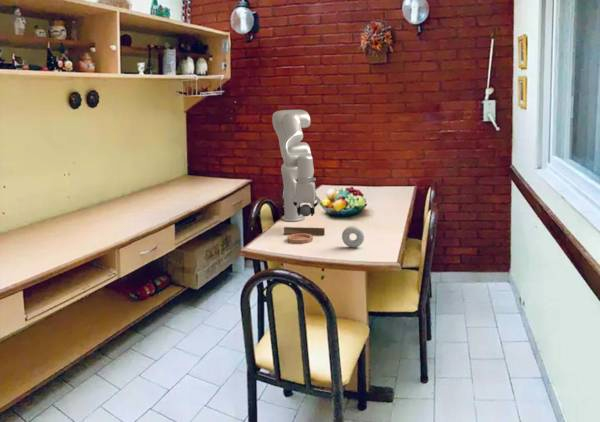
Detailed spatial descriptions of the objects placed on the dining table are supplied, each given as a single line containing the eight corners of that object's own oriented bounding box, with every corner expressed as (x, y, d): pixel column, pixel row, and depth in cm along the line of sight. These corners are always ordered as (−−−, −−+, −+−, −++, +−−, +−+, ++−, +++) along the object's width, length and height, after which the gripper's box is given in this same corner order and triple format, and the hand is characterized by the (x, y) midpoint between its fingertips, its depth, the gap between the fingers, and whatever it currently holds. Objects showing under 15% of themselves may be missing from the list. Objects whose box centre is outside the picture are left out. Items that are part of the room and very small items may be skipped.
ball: (301, 214, 282) (300, 202, 281) (312, 214, 281) (312, 203, 280) (298, 217, 277) (298, 205, 275) (310, 218, 276) (310, 206, 274)
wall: (284, 233, 275) (284, 227, 275) (324, 234, 272) (324, 227, 271) (284, 234, 274) (283, 227, 274) (324, 235, 270) (324, 228, 270)
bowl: (290, 236, 270) (290, 233, 270) (314, 237, 268) (314, 233, 267) (285, 243, 259) (285, 239, 259) (310, 244, 257) (309, 240, 256)
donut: (341, 248, 249) (341, 226, 247) (342, 246, 252) (342, 224, 250) (363, 249, 247) (363, 227, 245) (364, 246, 250) (364, 225, 248)
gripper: (323, 178, 276) (324, 213, 281) (289, 177, 279) (290, 212, 284) (321, 182, 269) (321, 217, 274) (286, 181, 272) (287, 216, 277)
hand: (305, 214), depth 279 cm, fingers closed on ball, 5 cm apart
